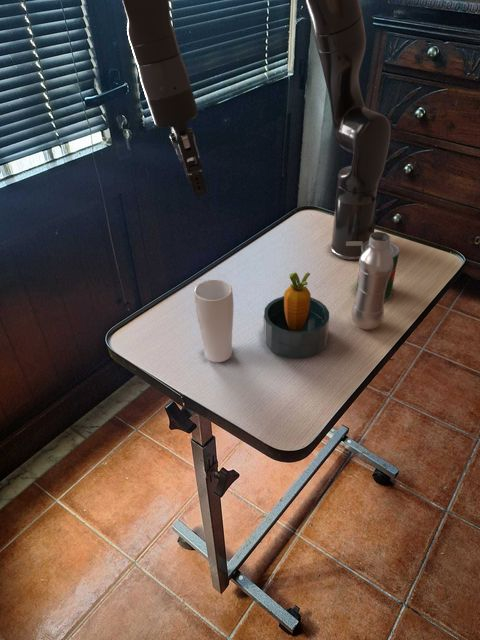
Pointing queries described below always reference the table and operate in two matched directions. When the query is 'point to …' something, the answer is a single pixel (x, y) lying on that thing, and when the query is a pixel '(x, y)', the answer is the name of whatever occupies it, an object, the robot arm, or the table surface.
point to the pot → (293, 341)
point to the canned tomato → (394, 253)
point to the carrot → (297, 303)
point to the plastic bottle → (372, 282)
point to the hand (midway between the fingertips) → (197, 187)
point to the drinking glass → (215, 318)
